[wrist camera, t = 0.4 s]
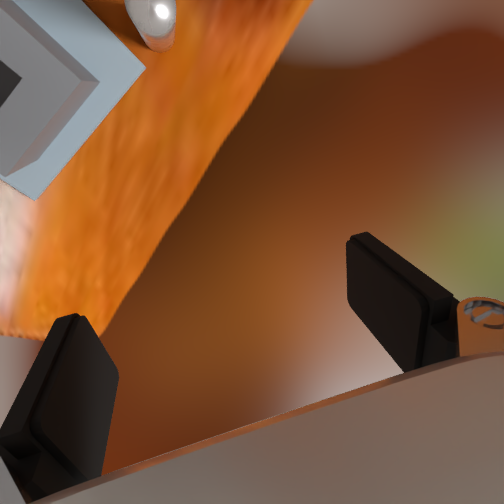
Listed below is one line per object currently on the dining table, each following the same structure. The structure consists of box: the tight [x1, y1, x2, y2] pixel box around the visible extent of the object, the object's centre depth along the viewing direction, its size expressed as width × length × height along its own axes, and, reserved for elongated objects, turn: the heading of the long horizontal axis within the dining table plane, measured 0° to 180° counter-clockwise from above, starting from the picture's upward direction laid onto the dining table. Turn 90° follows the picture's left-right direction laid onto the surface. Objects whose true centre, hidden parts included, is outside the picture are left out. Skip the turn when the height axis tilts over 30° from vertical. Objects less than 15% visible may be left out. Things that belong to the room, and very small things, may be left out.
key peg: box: [124, 0, 176, 53], centre depth 24 cm, size 3×3×12 cm
